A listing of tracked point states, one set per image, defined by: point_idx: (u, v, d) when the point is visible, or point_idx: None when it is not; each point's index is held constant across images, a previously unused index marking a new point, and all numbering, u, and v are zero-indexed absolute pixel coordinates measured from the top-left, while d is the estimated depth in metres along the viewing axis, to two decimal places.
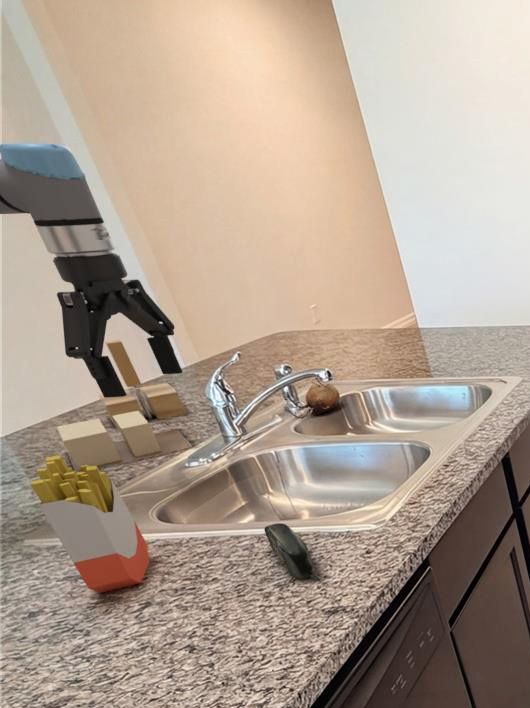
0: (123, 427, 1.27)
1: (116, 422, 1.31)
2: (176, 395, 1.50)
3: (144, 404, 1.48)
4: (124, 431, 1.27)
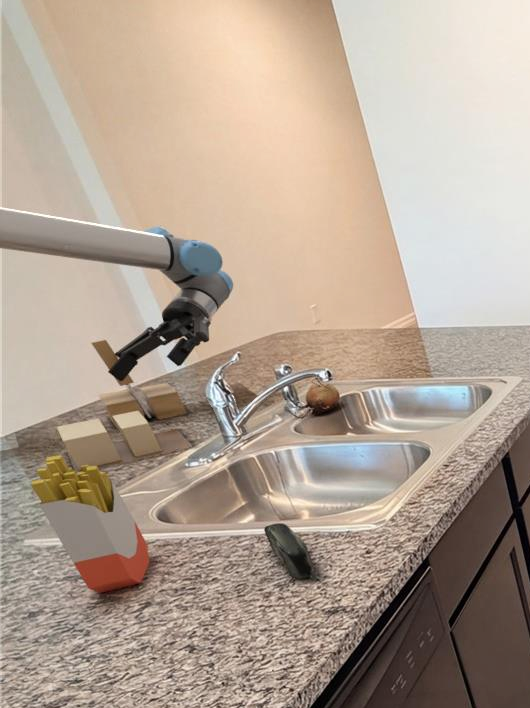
0: (123, 427, 1.27)
1: (116, 422, 1.31)
2: (176, 395, 1.50)
3: (139, 401, 1.48)
4: (124, 431, 1.27)
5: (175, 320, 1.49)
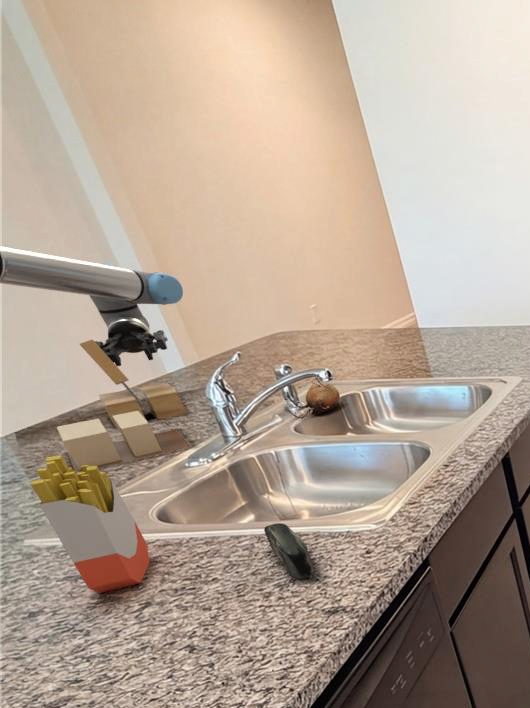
0: (123, 427, 1.27)
1: (116, 422, 1.31)
2: (176, 395, 1.50)
3: (134, 395, 1.48)
4: (124, 431, 1.27)
5: (134, 331, 1.60)
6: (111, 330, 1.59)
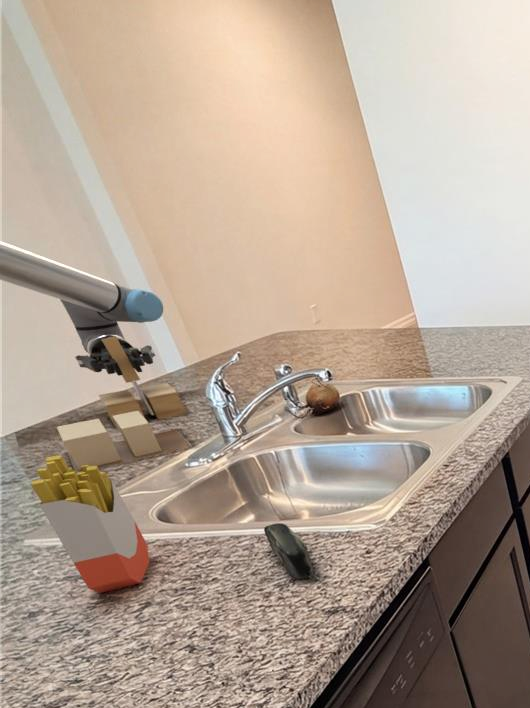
0: (123, 427, 1.27)
1: (116, 422, 1.31)
2: (176, 395, 1.50)
3: (143, 397, 1.48)
4: (124, 431, 1.27)
5: None
6: (95, 345, 1.52)
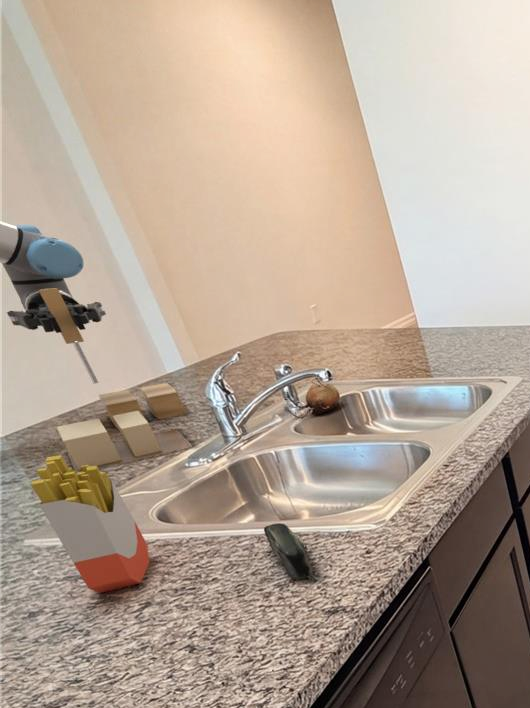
0: (123, 427, 1.27)
1: (116, 422, 1.31)
2: (176, 395, 1.50)
3: (85, 361, 1.24)
4: (124, 431, 1.27)
5: (64, 301, 1.30)
6: (32, 300, 1.29)
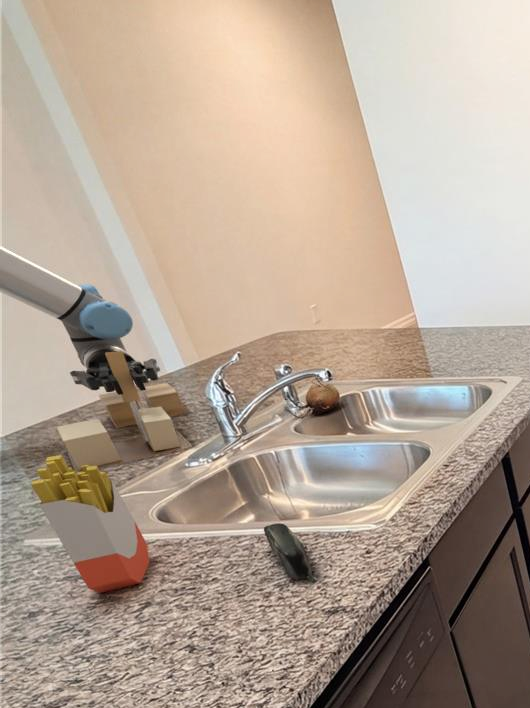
0: (146, 421, 1.29)
1: None
2: (176, 395, 1.50)
3: (140, 420, 1.30)
4: (146, 425, 1.29)
5: None
6: (92, 358, 1.35)
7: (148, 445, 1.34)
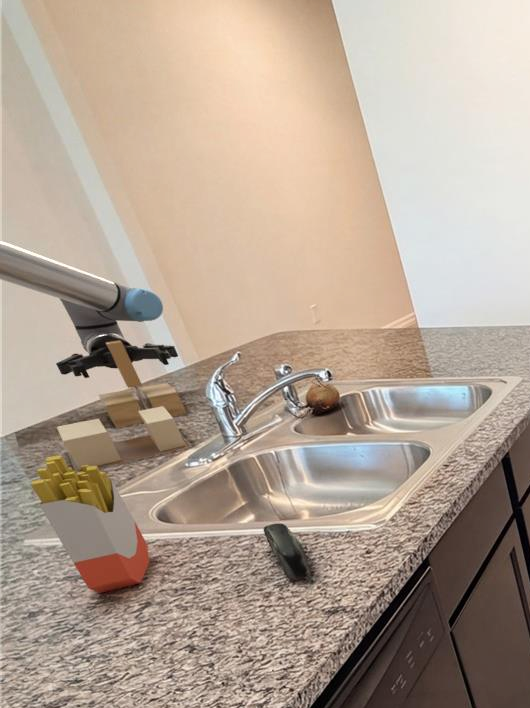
0: (149, 422, 1.29)
1: (142, 417, 1.33)
2: (176, 395, 1.50)
3: (145, 405, 1.48)
4: (149, 426, 1.29)
5: None
6: (94, 344, 1.52)
7: (148, 445, 1.34)
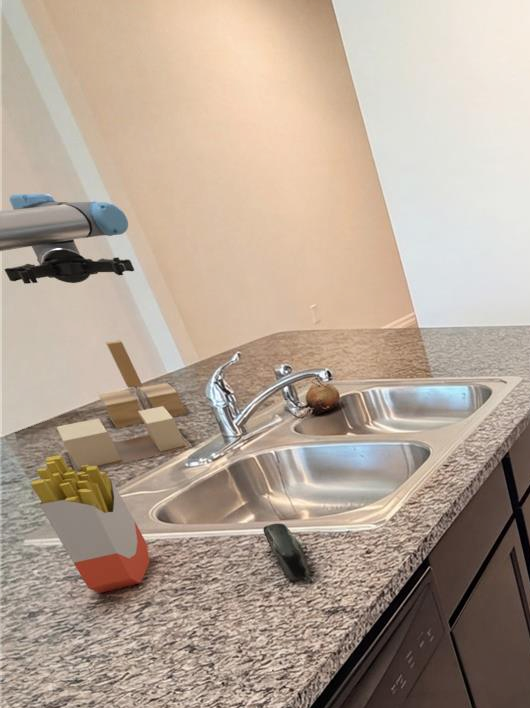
0: (149, 422, 1.29)
1: (142, 417, 1.33)
2: (176, 395, 1.50)
3: (145, 405, 1.48)
4: (149, 426, 1.29)
5: (75, 258, 1.53)
6: (48, 256, 1.52)
7: (148, 445, 1.34)
